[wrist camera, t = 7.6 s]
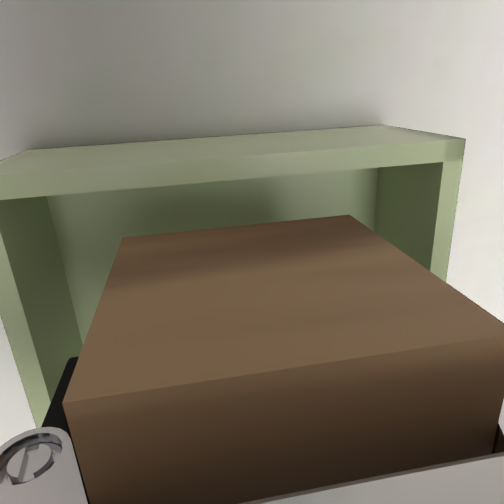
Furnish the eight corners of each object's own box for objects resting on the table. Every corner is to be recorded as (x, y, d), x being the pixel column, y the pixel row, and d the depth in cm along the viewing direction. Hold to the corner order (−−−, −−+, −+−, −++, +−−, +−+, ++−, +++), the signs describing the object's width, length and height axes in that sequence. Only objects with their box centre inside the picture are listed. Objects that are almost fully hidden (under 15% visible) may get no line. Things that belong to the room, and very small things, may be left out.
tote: (26, 149, 14) (-44, 178, 10) (383, 124, 16) (465, 138, 12) (81, 367, 18) (47, 463, 13) (370, 326, 20) (429, 398, 15)
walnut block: (122, 237, 10) (62, 403, 5) (349, 214, 11) (517, 333, 6) (155, 422, 13) (139, 681, 7) (342, 391, 13) (459, 601, 8)
